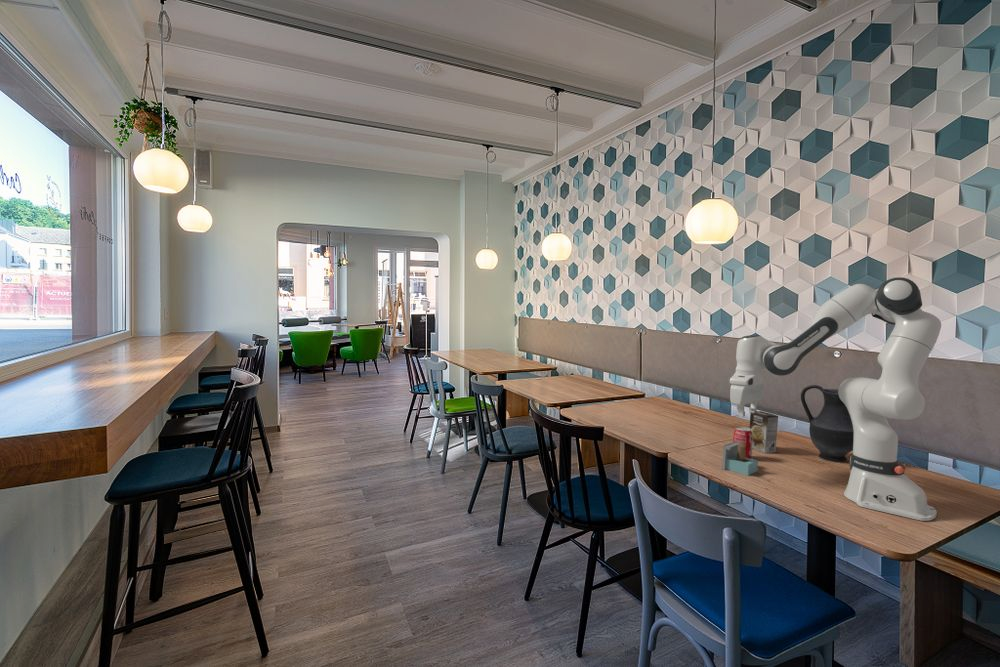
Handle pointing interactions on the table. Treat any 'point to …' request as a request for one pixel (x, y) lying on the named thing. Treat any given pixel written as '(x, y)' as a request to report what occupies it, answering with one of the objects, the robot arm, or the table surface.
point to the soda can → (744, 439)
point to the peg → (741, 452)
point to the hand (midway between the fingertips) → (746, 414)
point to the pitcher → (830, 426)
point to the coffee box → (764, 431)
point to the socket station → (732, 462)
